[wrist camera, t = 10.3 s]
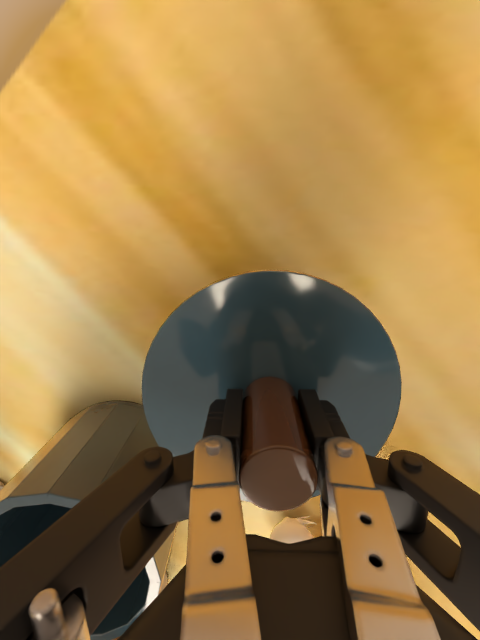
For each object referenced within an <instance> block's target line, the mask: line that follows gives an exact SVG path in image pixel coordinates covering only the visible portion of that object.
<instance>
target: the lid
mask: <svg viewBox="0 0 480 640" xmlns="http://www.w3.org/2000/svg"><path fill="white" fill-rule="evenodd" d="M227 389H243V408H242V431H241V454H240V460H239V484H240V488H239V490H240V498H241V501H246V502H252V503H253V504H254V505H256V506H258V507H260V508H263V509H266V510H270V511H287V510H291V509H294V508H297V507H299V506H301V505H303V504H304V503H305V502H307V501H308V500H309V499H310V498H312V497H316V496H318V495H321V494H320V491H319V490H316V487H317V484H318V471H317V467H316V464H315V460H314V457H313V453H312V449H311V446H310V442H309V439H308V435H307V432H306V428H305V425H304V421H303V417H302V414H301V410H300V407H299V403H298V390H299V389H315V390H316V393H317V395H318V398H319V400H328V401H329V402H330V403H331V404H332V405H334V406H335V408H336V410H337V412H338V415H339V416H340V418H341V421H342V422H343V424H344V426H345V429H346V431H347V433H348V435H349V437H350V439H352V440H354V441H356V442H357V443H359V444H360V445H361V446H362V448H363V450H364V452H365V454H367V455H370V456H373V457H375V456H376V455H377V454H378V452H379V451H380V450H381V448H382V447H383V445H384V444H385V442H386V441H387V439H388V437H389V435H390V433H391V431H392V429H393V426H394V423H395V420H396V418H397V415H398V410H399V405H400V400H401V374H400V366H399V362H398V359H397V355H396V351H395V349H394V347H393V344H392V342H391V340H390V337H389V336H388V334H387V332H386V331H385V329H384V328H383V326H382V324H381V323H380V321H379V320H378V319H377V318H376V317H375V316H374V314H373V313H372V312H371V311H370V310H369V309H368V308H367V307H366V306H365V305H364V304H362V303H361V302H360V301H359V300H358V299H357V298H356V297H354V296H352V295H351V294H349V293H348V292H346V291H345V290H343V289H342V288H340V287H338V286H337V285H334V284H332V283H330V282H328V281H326V280H324V279H321V278H318V277H315V276H312V275H308V274H305V273H300V272H294V271H288V270H258V271H248V272H244V273H240V274H236V275H231V276H229V277H226V278H223V279H221V280H218V281H215V282H213V283H211V284H209V285H208V286H206V287H204V288H202V289H200V290H198V291H197V292H196V293H194V294H193V295H192V296H190V297H189V298H187V299H186V300H185V301H184V302H183V303H182V304H181V305H180V306H179V307H177V308H176V309H175V310H174V311H173V312H172V313H171V314H170V316H169V317H168V318H167V320H166V321H165V322H164V323H163V325H162V326H161V327H160V329H159V331H158V332H157V334H156V336H155V338H154V339H153V341H152V343H151V346H150V348H149V351H148V354H147V356H146V360H145V364H144V369H143V375H142V402H143V407H144V412H145V416H146V419H147V422H148V425H149V428H150V431H151V433H152V434H153V436H154V438H155V440H156V442H157V444H158V445H159V447H164V448H167V449H168V450H170V451H171V452H172V455H173V457H174V456H179V455H183V454H187V453H189V452H191V451H193V450H194V448H195V445H196V443H197V442H198V441H199V440H200V439H202V437H203V433H204V429H205V424H206V420H207V416H208V411H209V407H210V405H211V404H212V403H213V402H214V401H215V400H216V399H226V394H227Z"/></svg>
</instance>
